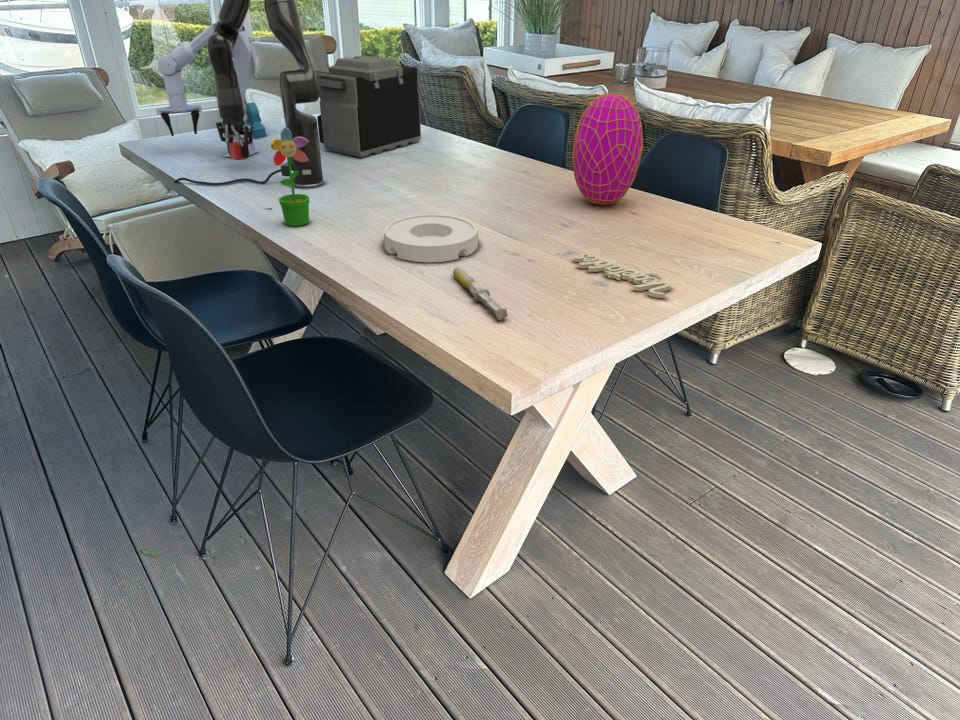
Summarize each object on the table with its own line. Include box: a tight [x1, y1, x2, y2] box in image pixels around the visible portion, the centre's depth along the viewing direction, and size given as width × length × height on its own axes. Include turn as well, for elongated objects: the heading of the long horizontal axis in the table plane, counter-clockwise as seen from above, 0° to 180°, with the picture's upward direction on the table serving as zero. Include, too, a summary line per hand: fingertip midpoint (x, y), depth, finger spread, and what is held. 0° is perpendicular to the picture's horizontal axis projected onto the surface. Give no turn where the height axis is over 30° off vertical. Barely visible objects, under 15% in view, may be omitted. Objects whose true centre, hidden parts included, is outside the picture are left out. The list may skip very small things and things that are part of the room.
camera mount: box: [244, 102, 267, 139], centre depth 271 cm, size 18×10×10 cm, turn 35°
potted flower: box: [270, 127, 310, 227], centre depth 177 cm, size 9×8×25 cm
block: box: [228, 142, 249, 161], centre depth 225 cm, size 4×4×5 cm
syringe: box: [452, 266, 509, 321], centre depth 145 cm, size 25×4×3 cm, turn 21°
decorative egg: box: [571, 92, 644, 205], centre depth 194 cm, size 19×19×30 cm
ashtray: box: [383, 213, 479, 263], centre depth 170 cm, size 23×23×4 cm
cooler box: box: [314, 55, 422, 159], centre depth 250 cm, size 37×22×30 cm, turn 144°
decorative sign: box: [574, 252, 671, 299], centre depth 155 cm, size 26×1×10 cm
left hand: (184, 134), depth 242 cm, fingers open, 7 cm apart
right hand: (239, 156), depth 225 cm, fingers closed on block, 5 cm apart
